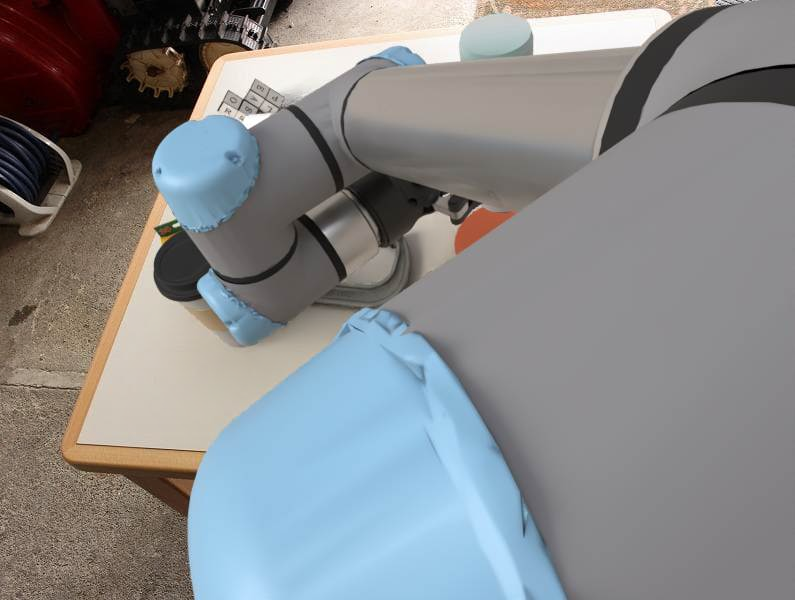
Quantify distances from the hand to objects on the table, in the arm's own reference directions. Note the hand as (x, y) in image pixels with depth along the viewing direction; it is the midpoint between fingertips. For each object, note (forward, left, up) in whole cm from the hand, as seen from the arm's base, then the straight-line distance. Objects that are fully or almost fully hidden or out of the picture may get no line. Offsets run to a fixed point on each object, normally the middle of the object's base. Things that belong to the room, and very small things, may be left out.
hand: (535, 89), depth 62 cm
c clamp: (+10, +23, -20) cm, 32 cm away
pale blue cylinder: (-1, +5, -11) cm, 12 cm away
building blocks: (+45, +23, -20) cm, 54 cm away
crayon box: (+16, +39, -20) cm, 47 cm away
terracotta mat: (-1, +5, -20) cm, 21 cm away
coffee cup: (+7, +39, -20) cm, 44 cm away
